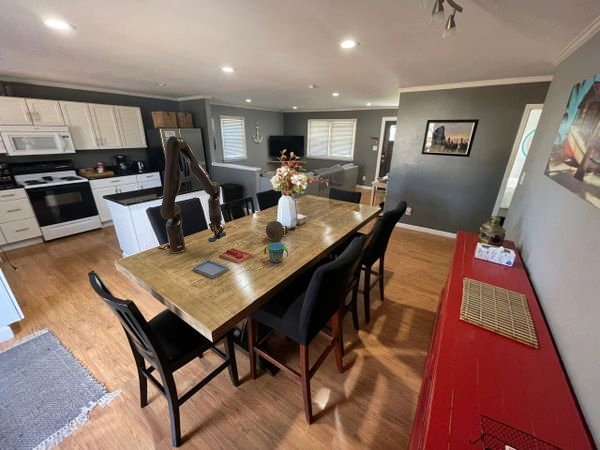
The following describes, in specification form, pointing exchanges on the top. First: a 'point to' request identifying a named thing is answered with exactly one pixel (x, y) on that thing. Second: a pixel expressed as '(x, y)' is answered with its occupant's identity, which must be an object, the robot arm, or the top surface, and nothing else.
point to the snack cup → (276, 251)
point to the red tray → (233, 258)
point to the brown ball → (275, 231)
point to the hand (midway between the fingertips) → (217, 238)
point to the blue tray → (210, 268)
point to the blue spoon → (216, 237)
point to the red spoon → (235, 254)
